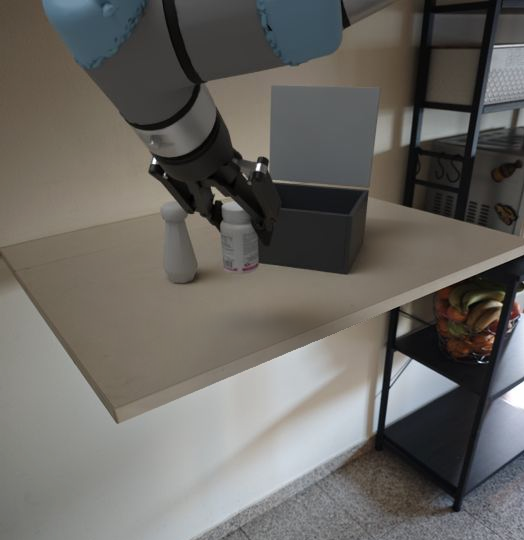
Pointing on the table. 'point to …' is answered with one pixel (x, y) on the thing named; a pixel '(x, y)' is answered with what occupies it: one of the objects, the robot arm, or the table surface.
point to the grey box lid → (323, 134)
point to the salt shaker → (177, 244)
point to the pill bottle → (238, 240)
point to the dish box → (317, 228)
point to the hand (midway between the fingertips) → (249, 234)
